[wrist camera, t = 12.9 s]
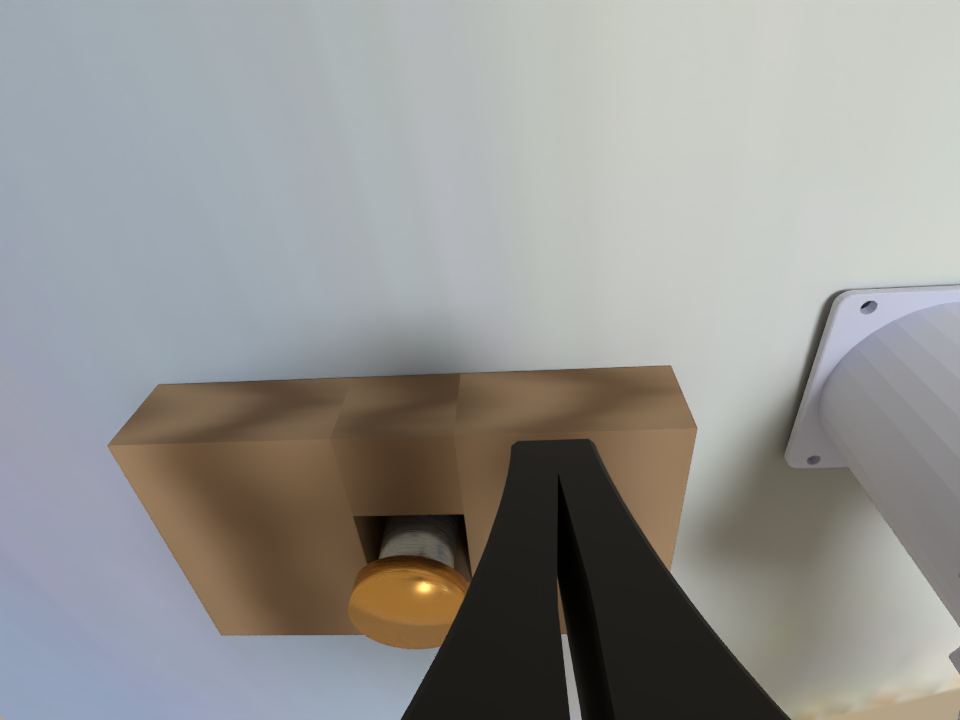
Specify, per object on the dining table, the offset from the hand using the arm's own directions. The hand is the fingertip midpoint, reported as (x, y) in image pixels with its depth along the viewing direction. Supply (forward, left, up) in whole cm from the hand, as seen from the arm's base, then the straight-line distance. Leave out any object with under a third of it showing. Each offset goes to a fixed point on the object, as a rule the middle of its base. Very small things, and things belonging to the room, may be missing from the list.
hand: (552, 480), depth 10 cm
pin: (+5, +12, -10) cm, 16 cm away
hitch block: (+5, +11, -10) cm, 16 cm away
